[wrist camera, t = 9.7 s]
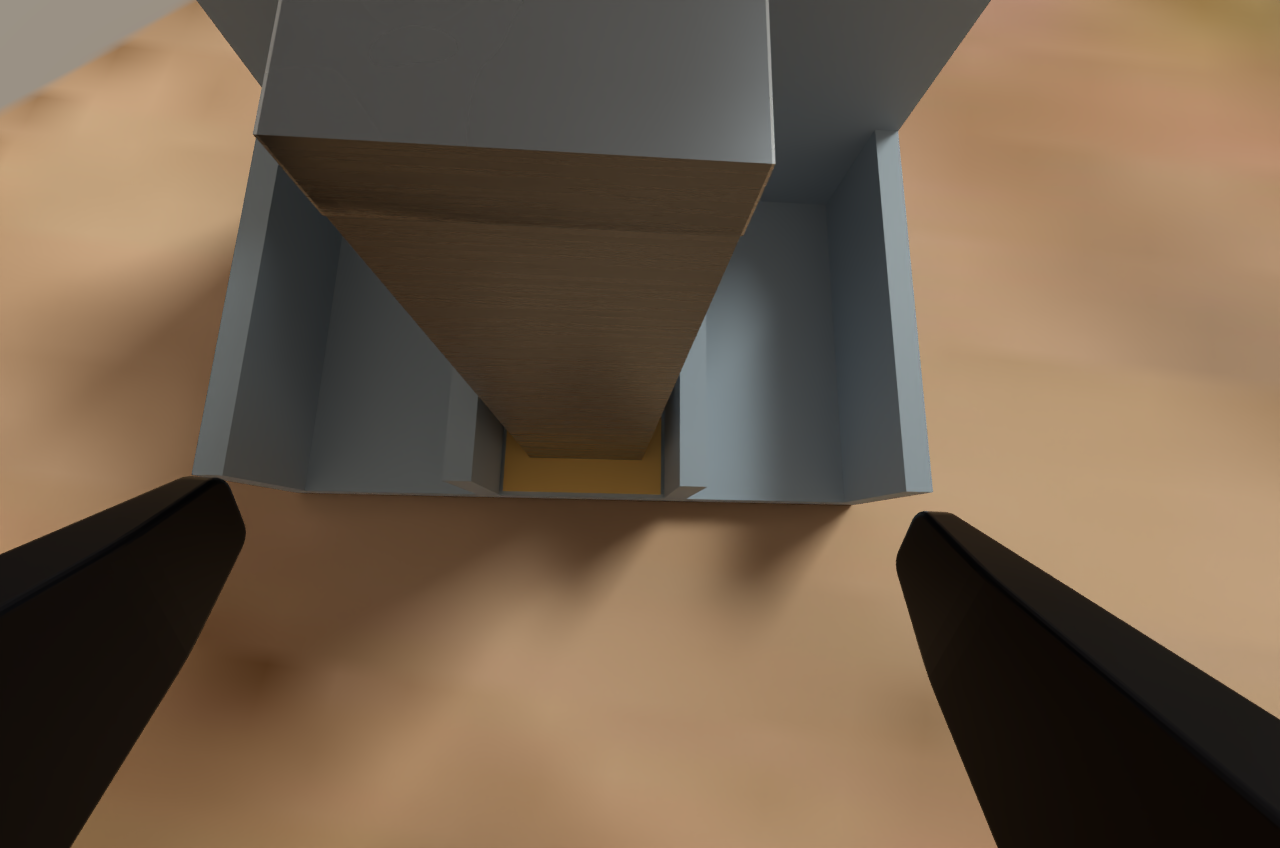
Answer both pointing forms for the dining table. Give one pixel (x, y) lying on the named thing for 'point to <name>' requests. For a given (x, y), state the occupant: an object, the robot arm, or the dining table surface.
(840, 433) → the rack
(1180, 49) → the dining table surface
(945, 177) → the dining table surface
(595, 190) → the grey rectangular block
